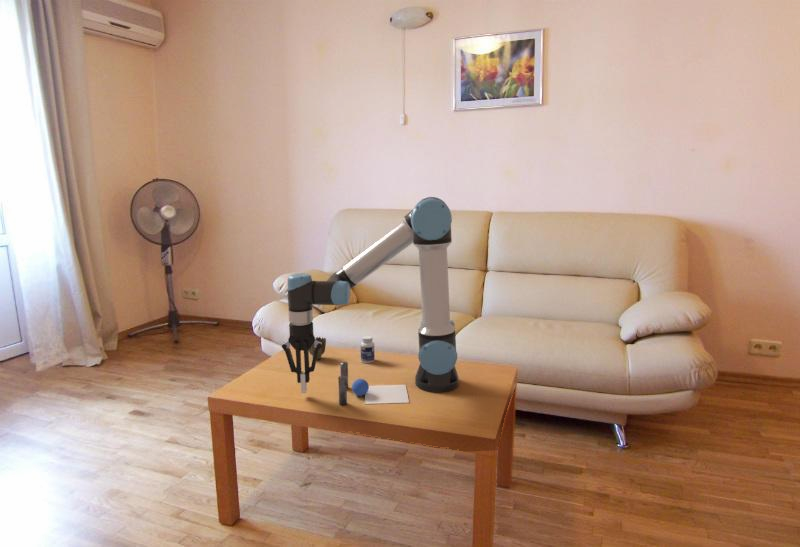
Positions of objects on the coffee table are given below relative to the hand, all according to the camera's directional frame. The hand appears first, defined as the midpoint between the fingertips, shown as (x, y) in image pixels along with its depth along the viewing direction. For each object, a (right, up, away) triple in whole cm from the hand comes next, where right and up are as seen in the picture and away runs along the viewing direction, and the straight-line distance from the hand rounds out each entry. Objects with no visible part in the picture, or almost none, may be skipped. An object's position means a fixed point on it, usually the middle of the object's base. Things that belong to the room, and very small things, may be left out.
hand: (303, 391), depth 167 cm
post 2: (+13, -3, -5) cm, 15 cm away
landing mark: (+27, -2, +2) cm, 27 cm away
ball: (+18, +1, +1) cm, 19 cm away
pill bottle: (+19, +4, +33) cm, 38 cm away
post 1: (+13, -1, +7) cm, 15 cm away
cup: (-1, +5, +35) cm, 36 cm away
